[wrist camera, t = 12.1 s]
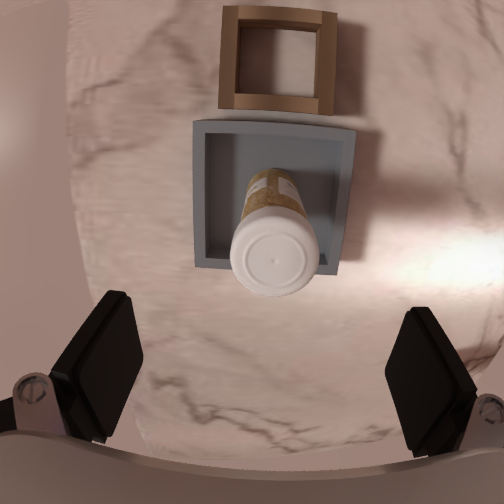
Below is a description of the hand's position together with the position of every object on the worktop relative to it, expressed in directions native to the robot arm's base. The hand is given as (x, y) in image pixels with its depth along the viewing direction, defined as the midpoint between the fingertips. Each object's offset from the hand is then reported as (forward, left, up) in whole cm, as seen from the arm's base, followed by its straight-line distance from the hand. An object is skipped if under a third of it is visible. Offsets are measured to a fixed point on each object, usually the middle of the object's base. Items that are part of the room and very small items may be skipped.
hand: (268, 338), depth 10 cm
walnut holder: (0, -12, -20) cm, 23 cm away
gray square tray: (0, 0, -20) cm, 20 cm away
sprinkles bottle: (0, 0, -20) cm, 20 cm away
